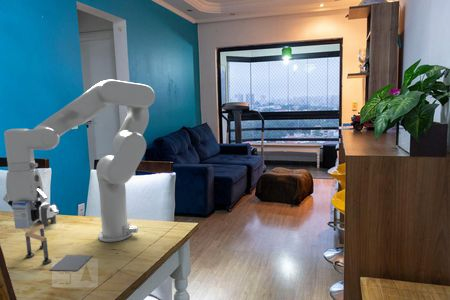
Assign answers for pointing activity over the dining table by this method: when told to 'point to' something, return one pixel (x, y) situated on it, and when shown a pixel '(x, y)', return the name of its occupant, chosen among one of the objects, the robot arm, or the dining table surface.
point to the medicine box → (23, 214)
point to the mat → (71, 263)
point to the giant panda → (47, 213)
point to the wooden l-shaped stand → (38, 237)
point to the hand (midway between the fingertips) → (27, 219)
